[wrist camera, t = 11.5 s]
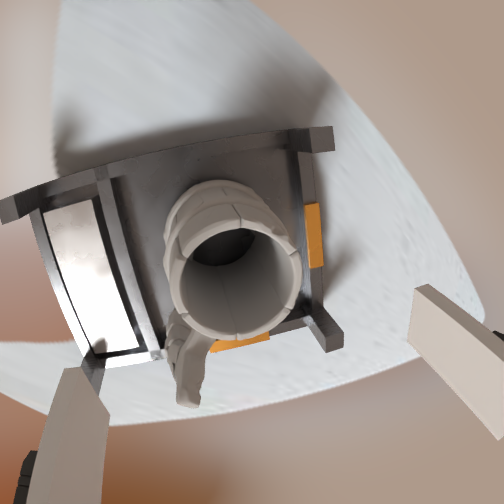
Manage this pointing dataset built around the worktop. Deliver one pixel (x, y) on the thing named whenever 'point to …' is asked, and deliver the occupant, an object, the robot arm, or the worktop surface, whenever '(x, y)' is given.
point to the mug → (223, 278)
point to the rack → (153, 244)
